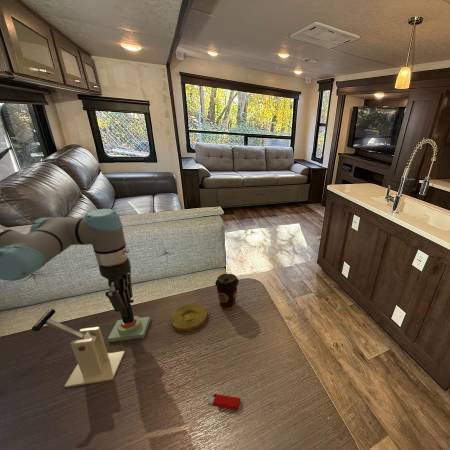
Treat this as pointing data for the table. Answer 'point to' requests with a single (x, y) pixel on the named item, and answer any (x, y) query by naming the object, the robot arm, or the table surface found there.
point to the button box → (129, 330)
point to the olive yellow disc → (188, 317)
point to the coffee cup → (227, 290)
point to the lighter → (224, 401)
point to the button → (128, 324)
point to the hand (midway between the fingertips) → (128, 321)
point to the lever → (60, 327)
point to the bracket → (93, 360)
